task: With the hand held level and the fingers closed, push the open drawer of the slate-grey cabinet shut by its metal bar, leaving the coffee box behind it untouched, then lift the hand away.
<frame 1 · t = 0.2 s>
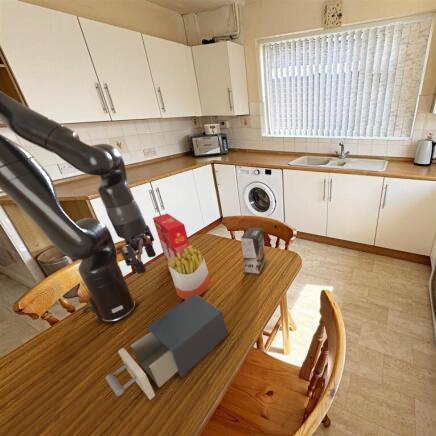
hand: (147, 264, 74), 17 cm above the table, tool pointing down, fingers open, 8 cm apart
coffee box: (256, 266, 100), on the table
food packaging: (183, 277, 96), on the table
cabinet: (192, 342, 68), on the table
french fries container: (196, 293, 87), on the table
drawer: (153, 359, 59), point 5 cm above the table, slide at 6.0 cm
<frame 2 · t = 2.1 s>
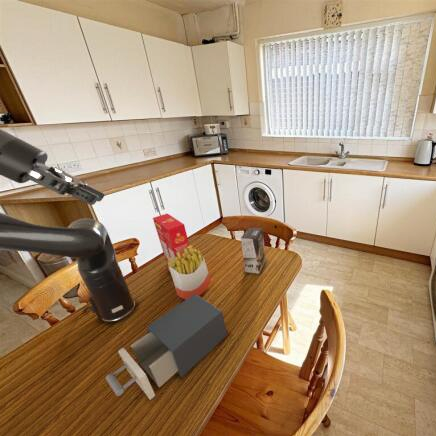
hand: (99, 199, 53), 43 cm above the table, tool tilted 45°, fingers open, 8 cm apart
nothing on the table moved.
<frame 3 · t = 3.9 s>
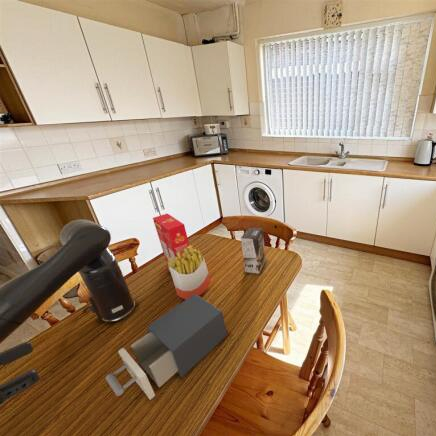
hand: (34, 359, 41), 23 cm above the table, tool horizontal, fingers open, 8 cm apart
nothing on the table moved.
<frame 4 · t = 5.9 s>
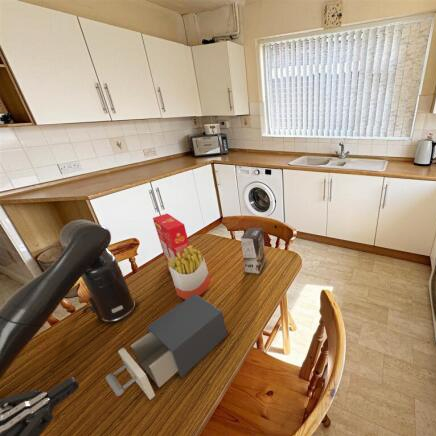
hand: (76, 381, 46), 13 cm above the table, tool horizontal, fingers closed
nothing on the table moved.
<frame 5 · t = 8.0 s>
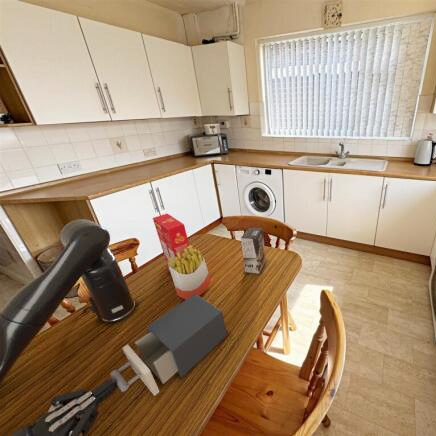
hand: (115, 382, 52), 7 cm above the table, tool horizontal, fingers closed
drawer: (157, 356, 60), point 5 cm above the table, slide at 5.0 cm, touching gripper
everything else where it was.
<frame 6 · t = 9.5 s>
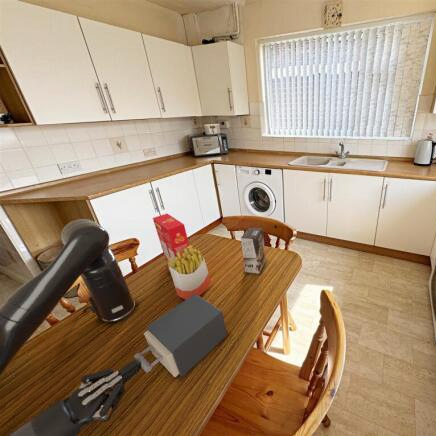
hand: (139, 363, 56), 7 cm above the table, tool horizontal, fingers closed
drawer: (176, 341, 63), point 5 cm above the table, slide at 0.0 cm, touching cabinet, gripper
everything else where it was.
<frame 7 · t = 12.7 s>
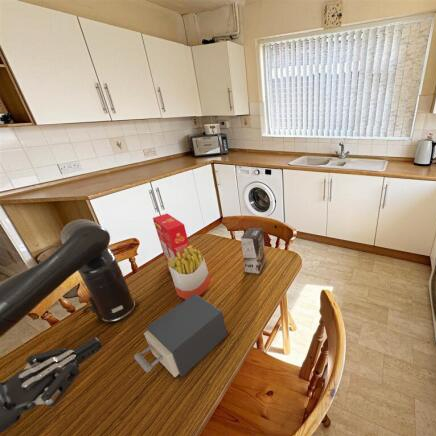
hand: (99, 342, 48), 19 cm above the table, tool horizontal, fingers closed
drawer: (176, 341, 63), point 5 cm above the table, slide at 0.0 cm, touching cabinet
everything else where it was.
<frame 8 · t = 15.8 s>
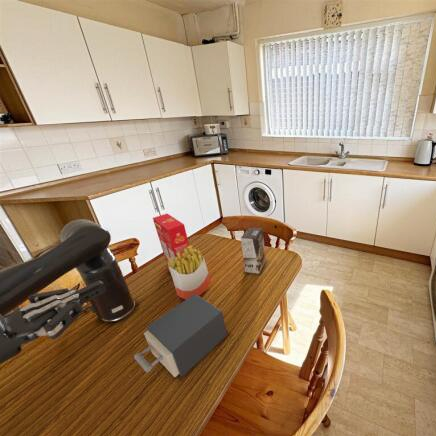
hand: (103, 285, 46), 30 cm above the table, tool horizontal, fingers closed
nothing on the table moved.
at the end: drawer slide at 0.0 cm; coffee box moved 0.2 cm from its start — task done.
